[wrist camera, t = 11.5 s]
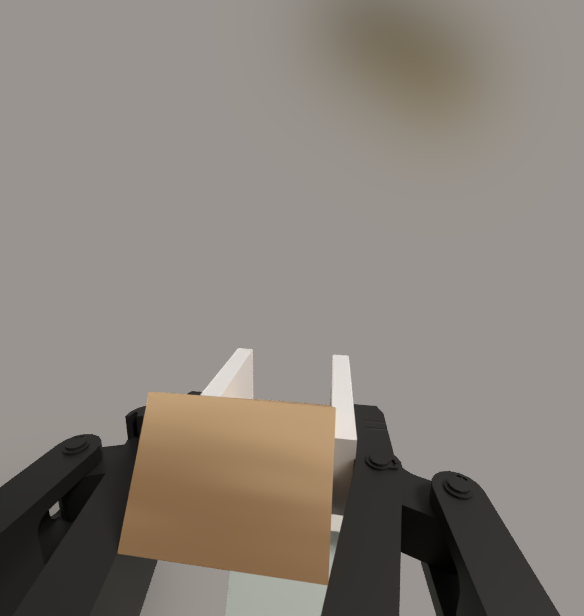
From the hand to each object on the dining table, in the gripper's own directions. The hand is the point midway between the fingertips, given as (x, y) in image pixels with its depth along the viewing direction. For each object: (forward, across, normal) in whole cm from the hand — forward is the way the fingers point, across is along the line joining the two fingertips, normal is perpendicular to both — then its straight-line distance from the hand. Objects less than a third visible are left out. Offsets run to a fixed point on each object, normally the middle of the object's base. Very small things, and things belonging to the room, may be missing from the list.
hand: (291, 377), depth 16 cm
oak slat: (+3, 0, -6) cm, 7 cm away
